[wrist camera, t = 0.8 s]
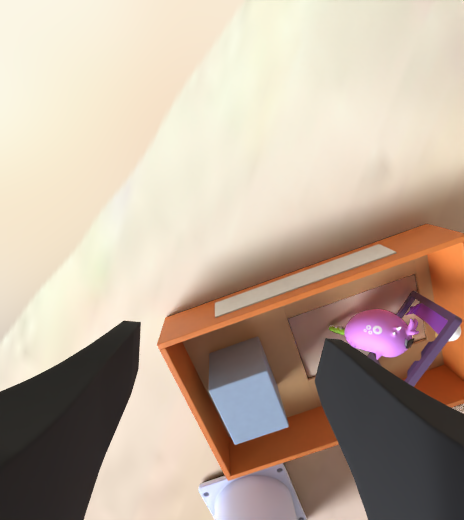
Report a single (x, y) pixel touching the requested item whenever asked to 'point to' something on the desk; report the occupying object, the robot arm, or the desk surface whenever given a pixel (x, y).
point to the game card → (401, 332)
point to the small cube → (245, 391)
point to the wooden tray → (285, 350)
